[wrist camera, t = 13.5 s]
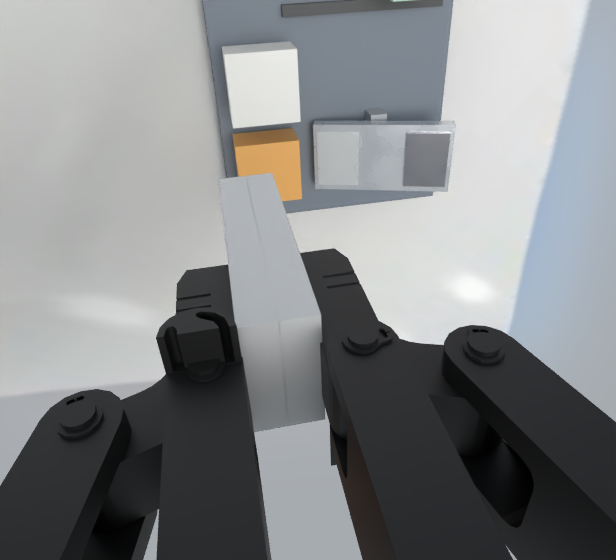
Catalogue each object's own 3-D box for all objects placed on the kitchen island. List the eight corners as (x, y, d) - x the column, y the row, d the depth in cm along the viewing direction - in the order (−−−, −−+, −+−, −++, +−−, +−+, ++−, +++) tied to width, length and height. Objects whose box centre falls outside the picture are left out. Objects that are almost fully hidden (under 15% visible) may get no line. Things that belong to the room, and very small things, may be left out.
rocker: (316, 183, 40) (314, 190, 39) (314, 120, 38) (312, 126, 36) (446, 186, 39) (447, 193, 38) (454, 120, 36) (456, 126, 35)
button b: (230, 115, 35) (233, 128, 33) (221, 46, 32) (223, 54, 30) (293, 109, 35) (300, 121, 33) (289, 41, 33) (297, 48, 31)
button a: (239, 190, 39) (242, 206, 37) (232, 134, 37) (235, 147, 34) (295, 183, 40) (302, 199, 37) (292, 127, 37) (299, 140, 35)
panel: (231, 209, 43) (234, 230, 40) (191, -82, 32) (190, -85, 28) (424, 186, 45) (440, 204, 42) (450, -94, 34) (476, -97, 31)
